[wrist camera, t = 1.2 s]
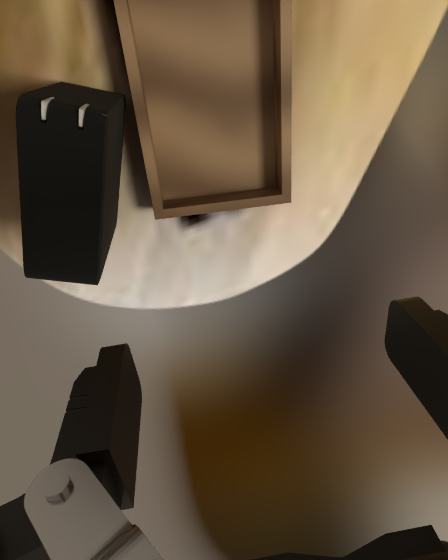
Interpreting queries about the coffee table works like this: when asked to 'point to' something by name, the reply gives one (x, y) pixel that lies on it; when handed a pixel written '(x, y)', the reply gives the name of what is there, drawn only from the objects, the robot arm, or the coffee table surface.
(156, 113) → the trough
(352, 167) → the coffee table surface
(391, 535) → the robot arm
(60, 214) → the electronic device
